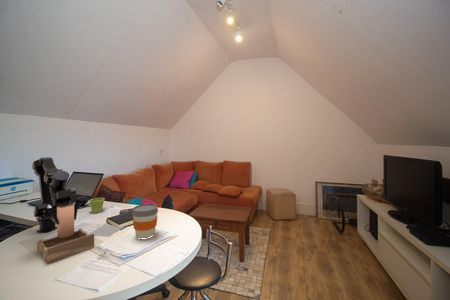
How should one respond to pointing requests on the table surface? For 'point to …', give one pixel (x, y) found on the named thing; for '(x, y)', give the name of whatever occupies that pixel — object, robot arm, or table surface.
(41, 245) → the open wooden box
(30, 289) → the table surface
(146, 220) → the reusable coffee cup
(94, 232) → the grey mat
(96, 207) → the plant pot
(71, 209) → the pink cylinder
